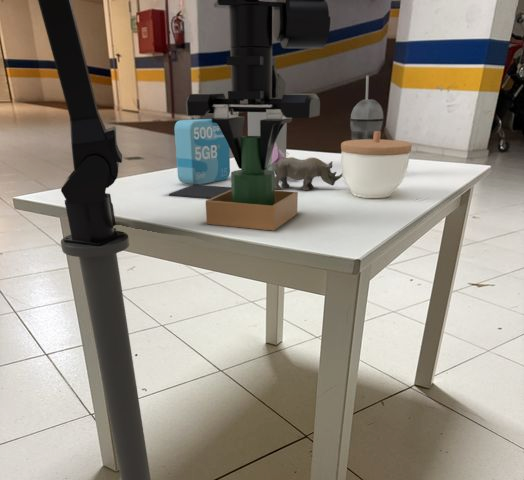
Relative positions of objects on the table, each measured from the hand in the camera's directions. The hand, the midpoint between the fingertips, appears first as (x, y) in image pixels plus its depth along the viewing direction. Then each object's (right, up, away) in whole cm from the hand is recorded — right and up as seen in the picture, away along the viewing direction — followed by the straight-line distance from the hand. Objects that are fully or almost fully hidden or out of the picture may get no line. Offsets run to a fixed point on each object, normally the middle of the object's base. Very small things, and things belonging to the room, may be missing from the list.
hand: (252, 168), depth 75 cm
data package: (-11, +9, +32) cm, 35 cm away
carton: (0, -7, +4) cm, 8 cm away
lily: (+5, +10, +35) cm, 37 cm away
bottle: (0, -7, +4) cm, 8 cm away
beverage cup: (+24, +13, +39) cm, 47 cm away
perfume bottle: (+3, +18, +48) cm, 51 cm away
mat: (-10, +4, +22) cm, 25 cm away
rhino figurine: (+10, +5, +25) cm, 27 cm away
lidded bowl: (+22, +2, +20) cm, 30 cm away
